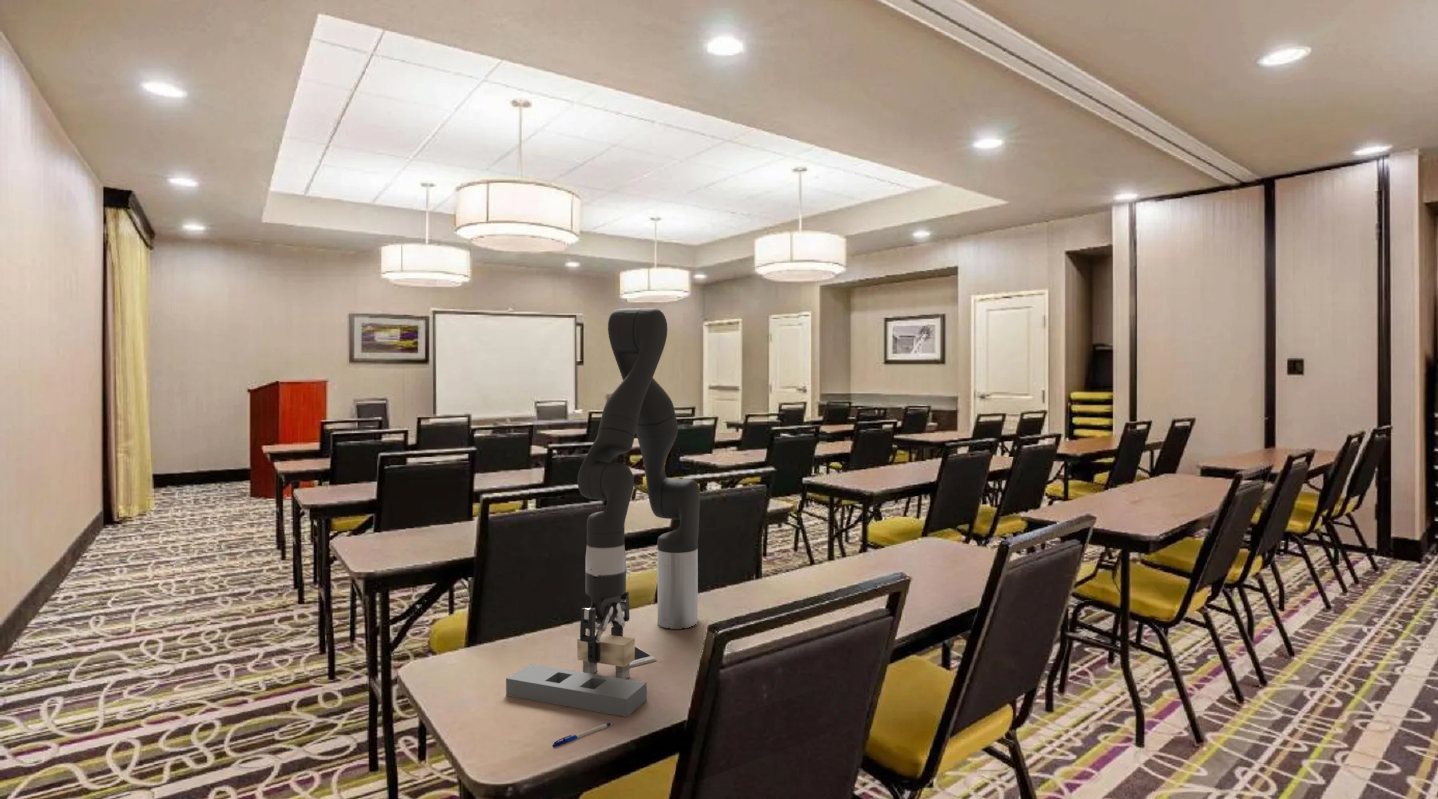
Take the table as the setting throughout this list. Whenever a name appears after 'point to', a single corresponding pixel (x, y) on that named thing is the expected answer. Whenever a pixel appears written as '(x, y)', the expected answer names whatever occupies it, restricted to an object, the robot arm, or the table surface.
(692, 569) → the robot arm
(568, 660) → the table surface
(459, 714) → the table surface
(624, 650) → the tan rectangular block
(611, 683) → the slotted rail
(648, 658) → the smartphone
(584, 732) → the ballpoint pen
